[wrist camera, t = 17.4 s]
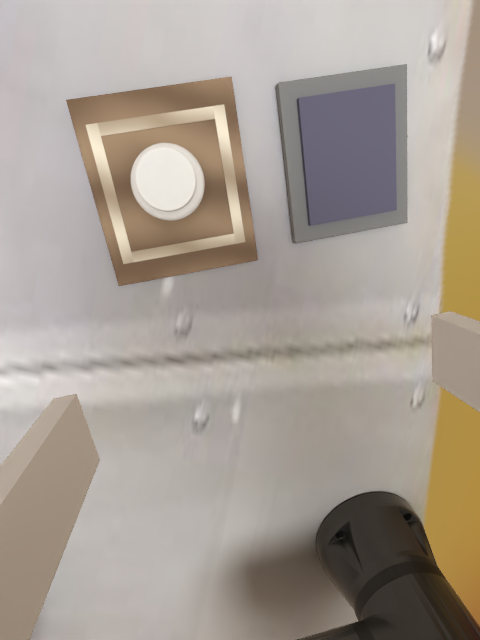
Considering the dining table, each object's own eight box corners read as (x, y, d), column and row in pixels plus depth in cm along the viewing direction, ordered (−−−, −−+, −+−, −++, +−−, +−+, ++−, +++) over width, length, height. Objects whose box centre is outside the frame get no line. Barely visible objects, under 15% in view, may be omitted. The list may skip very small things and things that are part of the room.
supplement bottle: (157, 144, 30) (143, 115, 21) (212, 175, 32) (221, 162, 23) (133, 200, 32) (109, 196, 22) (186, 229, 33) (185, 236, 24)
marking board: (256, 259, 36) (258, 260, 35) (120, 284, 34) (118, 286, 34) (230, 80, 30) (231, 76, 30) (69, 102, 29) (65, 99, 28)
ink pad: (401, 222, 37) (410, 222, 35) (292, 242, 36) (297, 243, 34) (400, 68, 32) (410, 61, 31) (275, 86, 31) (279, 80, 30)
